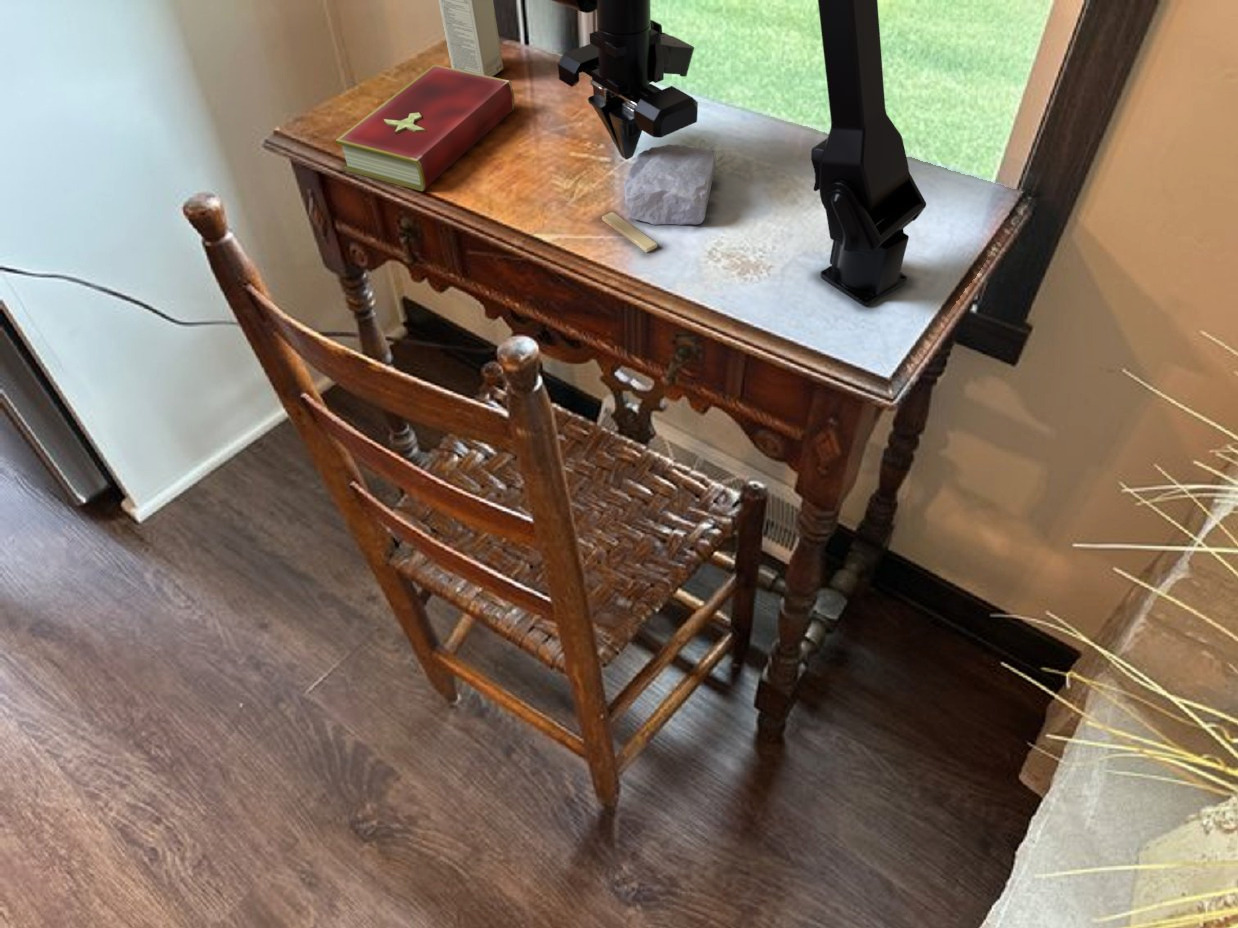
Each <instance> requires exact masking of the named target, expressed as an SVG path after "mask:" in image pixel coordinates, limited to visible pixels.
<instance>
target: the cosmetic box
mask: <svg viewBox="0 0 1238 928" xmlns="http://www.w3.org/2000/svg"><path fill="white" fill-rule="evenodd" d="M438 5H439V10H440V11H439V12H440V16H441V20H442V25H443V29H444V35H445V41H446V45H447V52H448V56H449V62H450V66H451V67H450V68H454V69H458V70H463V71H467V72H472V73H477V74H481V75H486V76H490V77H495V76H496V75H497V74H498V73H499V72H501V71H502V70H504V63H503V58H502V49H501V44H500V36H499V30H498V29H499V28H498V26H497V25H498V23H497V16H496V10H495V4H494V0H438Z"/></svg>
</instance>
